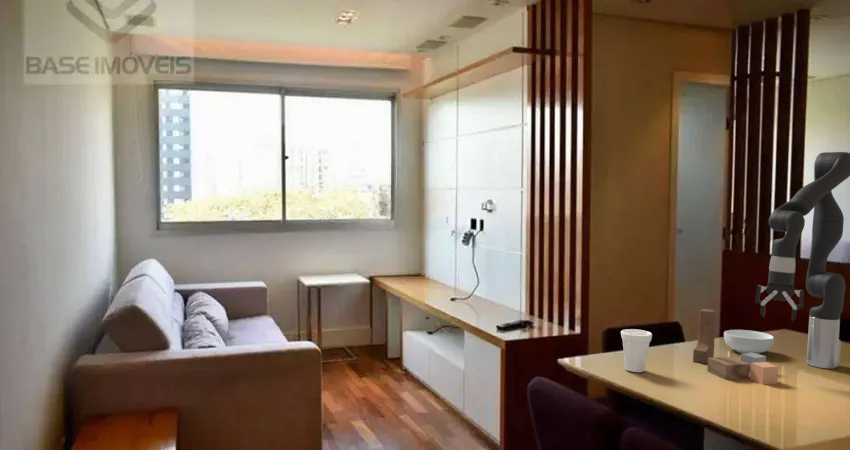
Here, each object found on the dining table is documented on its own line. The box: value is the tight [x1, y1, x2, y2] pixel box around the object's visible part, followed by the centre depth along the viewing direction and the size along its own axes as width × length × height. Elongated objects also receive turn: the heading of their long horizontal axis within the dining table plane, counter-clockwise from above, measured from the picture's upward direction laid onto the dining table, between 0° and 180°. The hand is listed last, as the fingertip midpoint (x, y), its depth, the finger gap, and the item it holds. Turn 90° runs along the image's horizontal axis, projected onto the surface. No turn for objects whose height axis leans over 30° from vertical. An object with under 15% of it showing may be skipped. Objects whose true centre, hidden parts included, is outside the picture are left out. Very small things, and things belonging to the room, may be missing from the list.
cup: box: [620, 328, 653, 373], centre depth 218 cm, size 10×10×13 cm
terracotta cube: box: [749, 361, 779, 385], centre depth 209 cm, size 6×6×6 cm
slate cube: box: [740, 352, 767, 373], centre depth 221 cm, size 6×6×6 cm
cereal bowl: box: [723, 329, 775, 355], centre depth 246 cm, size 17×17×7 cm
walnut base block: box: [706, 356, 750, 380], centre depth 216 cm, size 9×9×5 cm
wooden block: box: [692, 308, 717, 365], centre depth 232 cm, size 9×4×18 cm, turn 139°
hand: (777, 318), depth 217 cm, fingers open, 8 cm apart
